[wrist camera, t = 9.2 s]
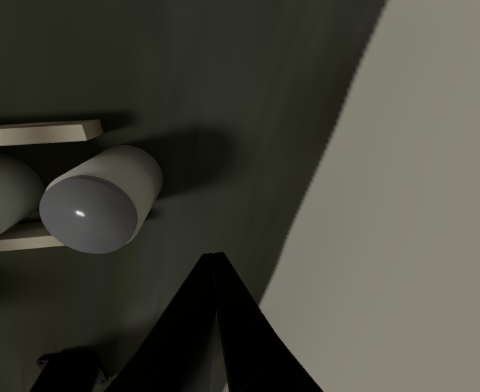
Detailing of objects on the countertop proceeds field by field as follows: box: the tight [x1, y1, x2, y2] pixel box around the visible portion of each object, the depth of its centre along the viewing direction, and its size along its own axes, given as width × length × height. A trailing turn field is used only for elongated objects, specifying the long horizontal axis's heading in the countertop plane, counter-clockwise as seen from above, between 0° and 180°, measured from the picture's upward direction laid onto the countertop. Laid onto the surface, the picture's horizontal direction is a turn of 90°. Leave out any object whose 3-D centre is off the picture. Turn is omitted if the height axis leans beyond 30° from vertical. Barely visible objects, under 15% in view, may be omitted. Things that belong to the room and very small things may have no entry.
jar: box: [39, 145, 163, 254], centre depth 15 cm, size 5×5×7 cm
